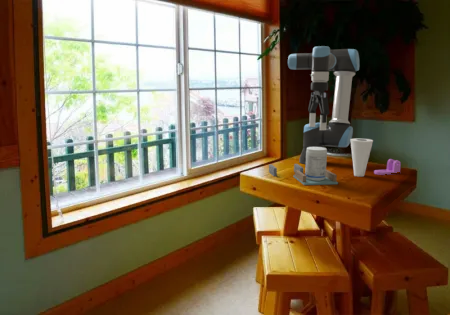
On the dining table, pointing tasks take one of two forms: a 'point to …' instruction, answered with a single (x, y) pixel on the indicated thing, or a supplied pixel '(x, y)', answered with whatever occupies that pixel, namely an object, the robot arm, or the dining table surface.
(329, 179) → the docking bay
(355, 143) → the cup
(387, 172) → the bracket
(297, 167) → the holder
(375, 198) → the dining table surface
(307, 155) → the supplement tub
